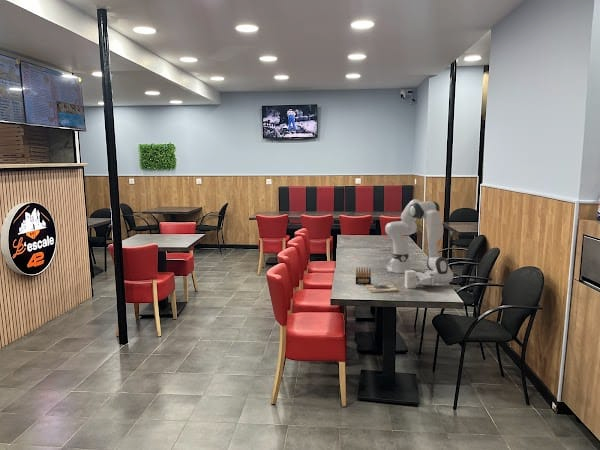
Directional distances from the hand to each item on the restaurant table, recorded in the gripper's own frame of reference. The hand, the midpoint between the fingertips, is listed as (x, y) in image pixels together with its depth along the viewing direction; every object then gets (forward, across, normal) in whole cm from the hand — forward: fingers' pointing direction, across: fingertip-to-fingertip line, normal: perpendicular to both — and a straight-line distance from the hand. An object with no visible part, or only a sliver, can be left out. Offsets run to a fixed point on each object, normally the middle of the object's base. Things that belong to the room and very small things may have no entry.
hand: (409, 278), depth 299 cm
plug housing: (-1, 0, +6) cm, 6 cm away
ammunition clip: (+28, -13, +6) cm, 32 cm away
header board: (+19, +1, +6) cm, 20 cm away
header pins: (+19, +1, +5) cm, 20 cm away
